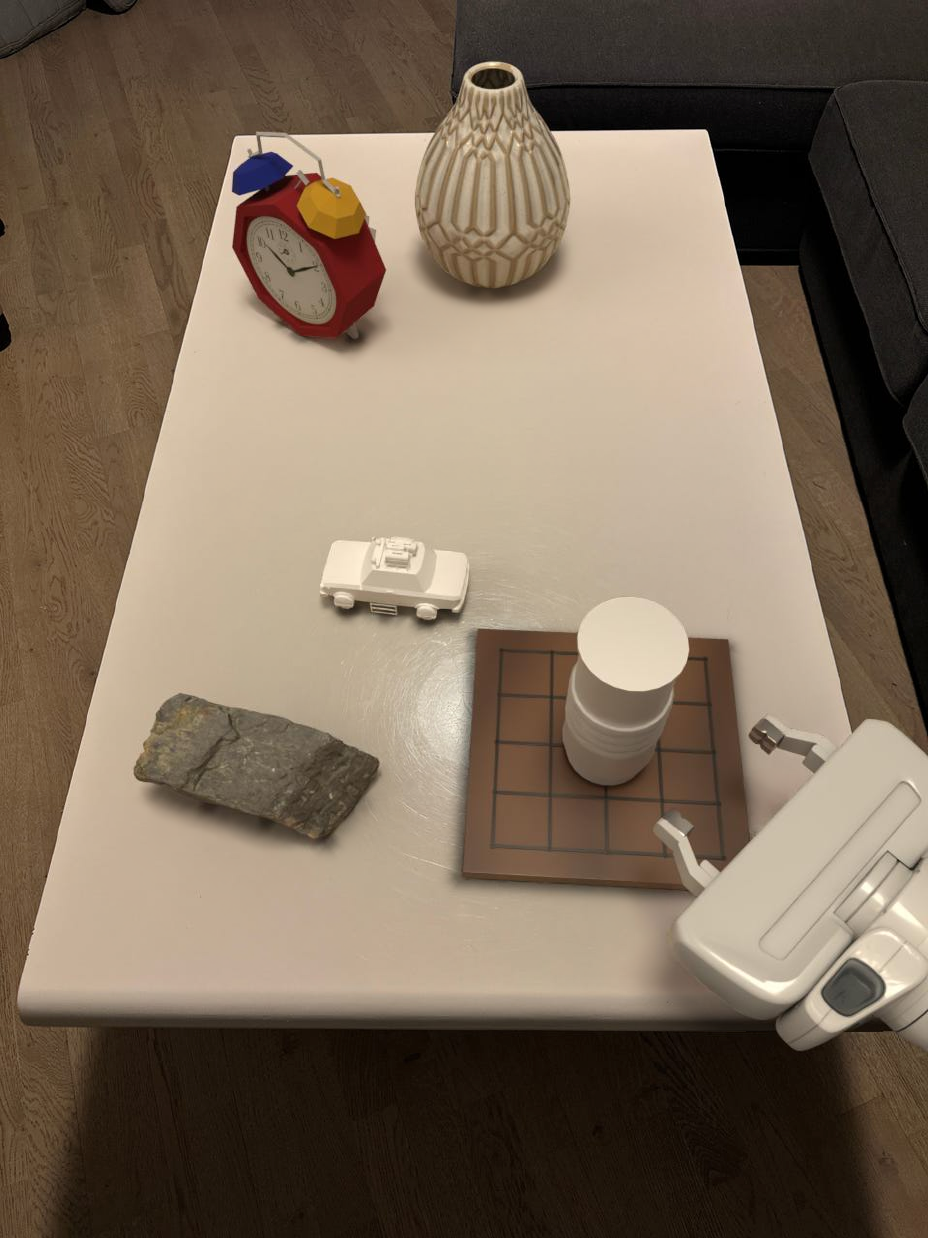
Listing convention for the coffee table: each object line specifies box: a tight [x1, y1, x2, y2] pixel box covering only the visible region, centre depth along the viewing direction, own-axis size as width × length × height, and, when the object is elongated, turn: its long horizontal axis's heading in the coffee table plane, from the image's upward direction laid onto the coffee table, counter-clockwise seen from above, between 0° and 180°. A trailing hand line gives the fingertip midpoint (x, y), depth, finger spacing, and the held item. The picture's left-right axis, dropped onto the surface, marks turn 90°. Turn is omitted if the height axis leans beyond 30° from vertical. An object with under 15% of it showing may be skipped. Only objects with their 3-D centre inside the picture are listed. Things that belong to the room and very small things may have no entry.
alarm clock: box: [231, 131, 387, 340], centre depth 90 cm, size 15×9×20 cm, turn 54°
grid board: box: [461, 628, 751, 891], centre depth 70 cm, size 20×20×1 cm
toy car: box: [319, 535, 470, 621], centre depth 76 cm, size 6×12×7 cm, turn 81°
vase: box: [414, 61, 571, 289], centre depth 94 cm, size 16×16×20 cm
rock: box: [133, 692, 380, 839], centre depth 68 cm, size 17×7×10 cm
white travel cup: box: [562, 596, 689, 785], centre depth 63 cm, size 7×7×15 cm
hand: (710, 770), depth 60 cm, fingers open, 8 cm apart
